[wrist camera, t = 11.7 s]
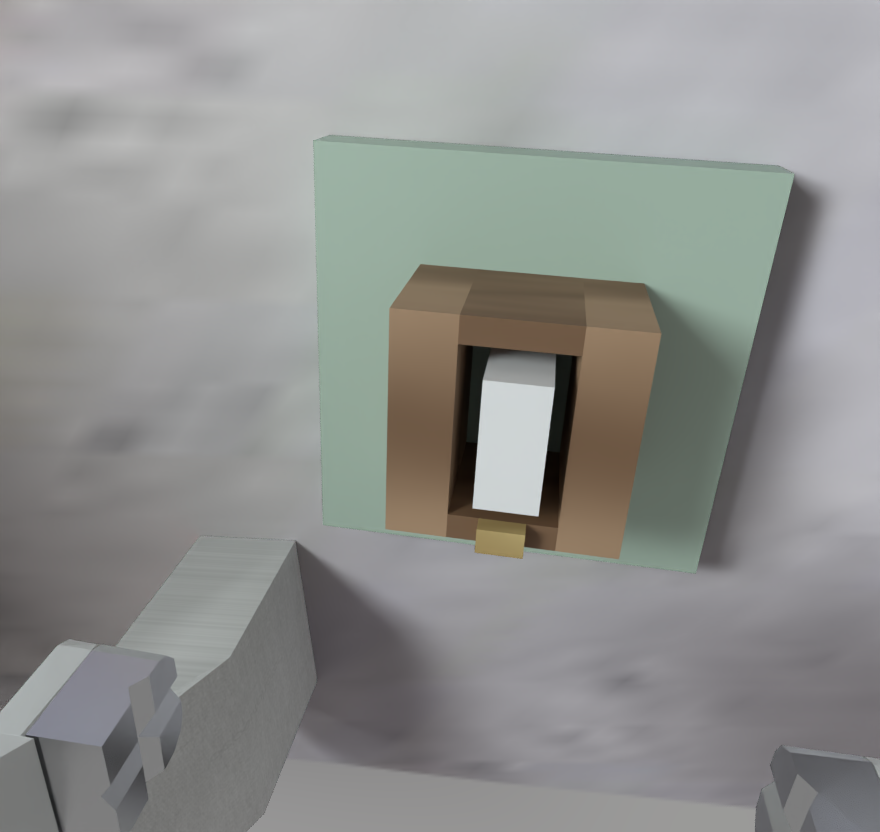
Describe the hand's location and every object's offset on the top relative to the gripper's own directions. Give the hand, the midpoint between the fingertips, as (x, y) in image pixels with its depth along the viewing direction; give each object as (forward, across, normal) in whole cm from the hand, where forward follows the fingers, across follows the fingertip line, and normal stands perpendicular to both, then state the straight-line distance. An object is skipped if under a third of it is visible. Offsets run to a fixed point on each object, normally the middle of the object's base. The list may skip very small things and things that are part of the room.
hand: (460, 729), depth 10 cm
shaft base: (+14, 0, 0) cm, 14 cm away
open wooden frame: (+13, 0, 0) cm, 13 cm away
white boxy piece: (+14, +9, +12) cm, 20 cm away
